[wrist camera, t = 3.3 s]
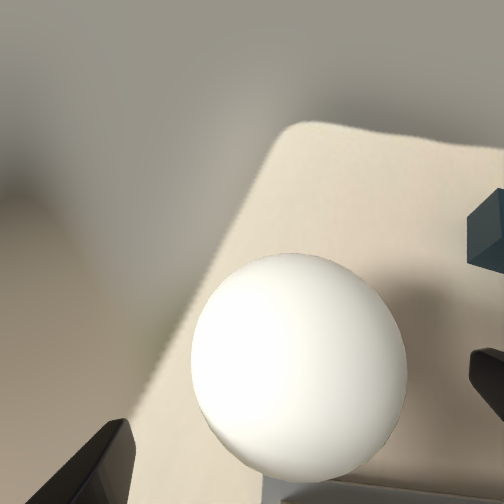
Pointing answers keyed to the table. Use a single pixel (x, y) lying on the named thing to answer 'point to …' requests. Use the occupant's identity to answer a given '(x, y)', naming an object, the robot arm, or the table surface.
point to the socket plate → (354, 494)
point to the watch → (487, 233)
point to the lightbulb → (299, 368)
